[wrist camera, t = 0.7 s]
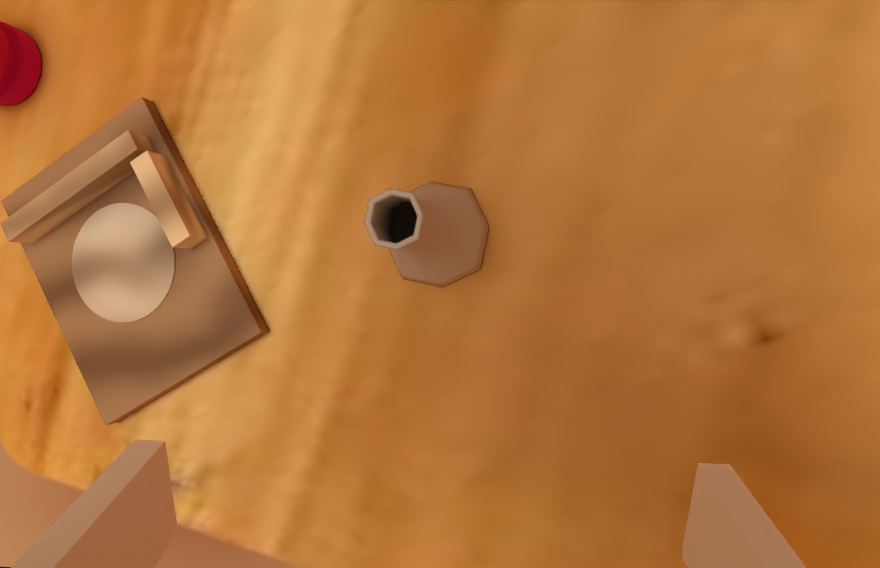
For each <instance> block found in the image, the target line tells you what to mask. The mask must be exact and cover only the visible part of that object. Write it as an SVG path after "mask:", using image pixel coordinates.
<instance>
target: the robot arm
mask: <svg viewBox="0 0 880 568" xmlns="http://www.w3.org/2000/svg"><path fill="white" fill-rule="evenodd" d="M177 532H178V529H177V521H176V514H175V507H174V500H173V493H172V486H171V479H170V472H169V465H168V458H167V451H166V444H165V441H152V440H134V441H133V442H132V443H131V444H130V445H129V446H128V447H127V448H126V450H125V451H124V452H123V453H122V454H121V455H120V456H119V457H118V458H117V459H116V460H115V461H114V462H113V463H112V464H111V465H110V466H109V467H108V468H107V469H106V470H105V471H104V472H103V473H102V474H101V475H100V476H99V477H98V478H97V479H96V480H95V481H94V482H93V484H92V485H91V486H90V487H89V488H88V489H87V490H86V491H85V492H84V493H83V494H82V495H81V496H80V497H79V498H78V499H77V500H76V501H75V502H74V503H73V504H72V505H71V506H70V508H68V509H67V510H66V511H65V512H64V513H63V514H62V515H61V516H60V517H59V519H58V520H57V521H56V522H55V523H54V524H53V525H52V526H51V527H50V528H49V529H48V530H47V531H46V532H45V533H44V534H43V535H42V536H41V537H40V538H39V539H38V540H37V541H36V542H35V543H34V544H33V545H32V547H30V549H28V550H27V551H26V553H25V554H24V555H23V556H22V557H21V558H20V559H19V560H18V561H17V562H16V563H15V564H14V565H13V566H12V567H0V568H154V567H155V566H156V564H157V563H158V561H159V560H160V558H161V557H162V555H163V554H164V552H165V551H166V549H167V548H168V546H169V545H170V543H171V542H172V540H173V539H174V537H175V536H176V534H177ZM681 556H682V558H683V560H684V562H685V564H686V566H687V568H806V567H805V566H804V564H803V563H802V561H801V560H800V559H799V557H798V556H797V555H796V553H795V552H794V551H793V549H792V548H791V547H790V545H789V544H788V542H787V541H786V540H785V538H784V537H783V536H782V534H781V533H780V532H779V530H778V529H777V528H776V526H775V525H774V523H773V522H772V521H771V519H770V518H769V517H768V515H767V514H766V513H765V511H764V510H763V508H762V507H761V506H760V504H759V503H758V502H757V500H756V499H755V498H754V496H753V495H752V494H751V492H750V491H749V489H748V488H747V487H746V485H745V484H744V483H743V481H742V480H741V479H740V477H739V476H738V475H737V473H736V472H735V470H734V469H733V468H732V466H731V465H730V464H713V463H698V465H697V470H696V476H695V481H694V486H693V492H692V497H691V503H690V508H689V514H688V519H687V524H686V530H685V535H684V541H683V546H682V551H681Z"/></svg>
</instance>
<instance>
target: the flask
mask: <svg viewBox="0 0 880 568" xmlns="http://www.w3.org/2000/svg"><path fill="white" fill-rule="evenodd" d="M364 224H365V226H366V228H367V230H368V233H369V235H370V237H371V239H372V242H373V244H374V245H375V246H380V247H384V248H389V250H390V252H391V254H392V256H393V259H394V261H395V263H396V265H397V268H398V270H399V272H400V274H401V277H402V279H406V280H411V281H415V282H420V283H425V284H429V285H434V286H438V287H444V286H446V285H448V284H450V283H452V282H454V281H457V280H459V279H461V278H463V277H465V276H467V275H469V274H471V273H473V272H475V271H478V270H480V267H481V262H482V258H483V253H484V248H485V243H486V239H487V234H488V229H489V226H488V224H487V222H486V220H485V218H484V216H483V214H482V211H481V209H480V207H479V205H478V203H477V201H476V199H475V196H474V194H473V192H472V190H471V189H469V188H463V187H458V186H452V185H446V184H441V183H435V182H429V183H427V184H425V185H423V186H421V187H419V188H417V189H415V190H413V191H411V192H407V191H402V190H396V189H391V188H390V189H388V190H386V191H384V192H382V193H380V194H378V195H376V196H375V197H373V198H371V199H369V202H368V207H367V212H366V217H365V222H364Z"/></svg>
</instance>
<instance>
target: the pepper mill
mask: <svg viewBox="0 0 880 568" xmlns="http://www.w3.org/2000/svg"><path fill="white" fill-rule="evenodd" d="M40 73H41V57H40V53H39V50H38V47H37V45H36V44H35V42H34V41H33V39H32V38H31V37H30V36H29V35H28V34H26V33H25V32H23V31H21V30H19V29H17V28H14V27H12V26H10V25H8V24H6V23H3V22H0V105H7V106H9V105H15V104H18V103H19V102H21V101H23V100H25V99H26V98H27V97H28V96H29V95H30V94H31V93H32V92H33V90H34V89H35V87H36V85H37V83H38V80H39V77H40Z"/></svg>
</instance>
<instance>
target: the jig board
mask: <svg viewBox="0 0 880 568" xmlns="http://www.w3.org/2000/svg"><path fill="white" fill-rule="evenodd" d="M2 204H3V206H4V208H5V210H6V212H7V214H8V216H9V217H8V218H7V219H6V220H4V221H3V222H1V223H0V224H1V226H2V228H3V230H4V233H5V235H6V237H7V239H8V241H9V242H21V244H22V247H23V249H24V251H25V253H26V255H27V257H28V259H29V262H30V264H31V266H32V268H33V270H34V272H35V274H36V277H37V279H38V281H39V283H40V285H41V287H42V290H43V292H44V294H45V296H46V298H47V300H48V302H49V305H50V307H51V309H52V311H53V313H54V315H55V317H56V320H57V322H58V324H59V326H60V328H61V330H62V332H63V335H64V337H65V339H66V341H67V343H68V345H69V348H70V350H71V352H72V354H73V356H74V358H75V360H76V363H77V365H78V367H79V369H80V371H81V373H82V375H83V378H84V380H85V382H86V384H87V386H88V388H89V390H90V393H91V395H92V397H93V399H94V401H95V403H96V406H97V408H98V410H99V412H100V414H101V416H102V418H103V421H104V423H105V425H109V424H113V423H116V422H119V421H120V420H122V419H123V418H125V417H127V416H128V415H130V414H132V413H133V412H135V411H137V410H138V409H140V408H142V407H143V406H145V405H147V404H148V403H150V402H152V401H153V400H155V399H157V398H158V397H160V396H162V395H163V394H165V393H167V392H168V391H170V390H172V389H173V388H175V387H177V386H178V385H180V384H182V383H183V382H185V381H187V380H188V379H190V378H192V377H193V376H195V375H197V374H198V373H200V372H202V371H203V370H205V369H207V368H208V367H210V366H212V365H213V364H215V363H217V362H218V361H220V360H222V359H223V358H225V357H227V356H228V355H230V354H232V353H233V352H235V351H237V350H238V349H240V348H242V347H243V346H245V345H247V344H248V343H250V342H252V341H253V340H255V339H257V338H258V337H260V336H262V335H263V334H265V333H267V332H268V331H270V330H269V328H268V327H267V325H266V323H265V321H264V319H263V317H262V315H261V313H260V311H259V309H258V307H257V305H256V303H255V301H254V299H253V297H252V295H251V293H250V291H249V289H248V287H247V285H246V283H245V281H244V279H243V277H242V275H241V274H240V272H239V270H238V268H237V266H236V264H235V262H234V260H233V258H232V256H231V254H230V252H229V250H228V248H227V246H226V244H225V242H224V240H223V238H222V236H221V234H220V232H219V230H218V228H217V226H216V224H215V222H214V221H213V219H212V217H211V215H210V213H209V211H208V209H207V207H206V205H205V203H204V201H203V199H202V197H201V195H200V193H199V191H198V189H197V187H196V185H195V183H194V181H193V179H192V177H191V175H190V173H189V171H188V169H187V168H186V166H185V164H184V162H183V160H182V158H181V156H180V154H179V152H178V150H177V148H176V146H175V144H174V142H173V140H172V138H171V136H170V134H169V132H168V130H167V128H166V126H165V124H164V122H163V120H162V118H161V116H160V115H159V113H158V111H157V109H156V107H155V105H154V103H153V102H152V101H150V100H148V99H145V98H143V97H141V98H140V99H138V100H137V101H136V102H134V103H133V104H132V105H130V106H129V107H127V108H126V109H125V110H123V111H122V112H121V113H119V114H118V115H117V116H115V117H114V118H113V119H111V120H110V121H109V122H107V123H106V124H105V125H103V126H102V127H101V128H99V129H98V130H96V131H95V132H94V133H92V134H91V135H90V136H88V137H87V138H86V139H84V140H83V141H82V142H80V143H79V144H78V145H76V146H75V147H74V148H72V149H71V150H70V151H68V152H67V153H65V154H64V155H63V156H61V157H60V158H59V159H57V160H56V161H55V162H53V163H52V164H51V165H49V166H48V167H47V168H45V169H44V170H43V171H41V172H40V173H39V174H37V175H36V176H34V177H33V178H32V179H30V180H29V181H28V182H26V183H25V184H24V185H22V186H21V187H20V188H18V189H17V190H16V191H14V192H13V193H12V194H10V195H9V196H8V197H6V198H5V199H3V200H2Z"/></svg>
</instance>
